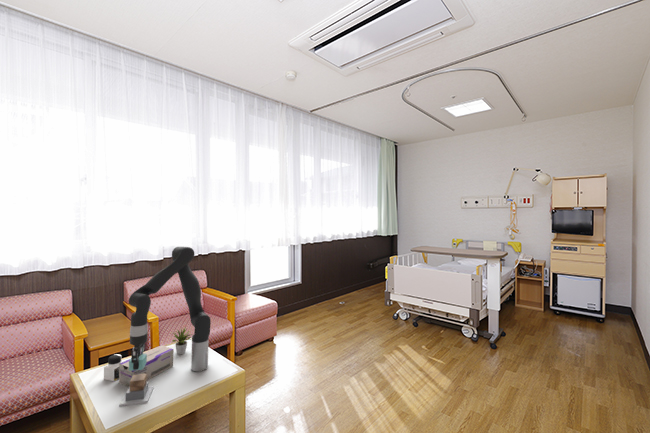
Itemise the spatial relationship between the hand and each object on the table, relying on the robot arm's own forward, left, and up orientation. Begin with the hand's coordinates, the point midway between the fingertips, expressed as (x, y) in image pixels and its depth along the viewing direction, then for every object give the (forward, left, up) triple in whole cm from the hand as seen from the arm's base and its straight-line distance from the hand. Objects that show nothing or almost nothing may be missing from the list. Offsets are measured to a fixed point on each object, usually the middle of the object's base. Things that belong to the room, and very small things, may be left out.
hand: (137, 365), depth 151 cm
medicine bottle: (+17, -22, -16) cm, 32 cm away
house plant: (-13, -43, -16) cm, 48 cm away
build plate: (0, 0, -16) cm, 16 cm away
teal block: (0, 0, -1) cm, 1 cm away
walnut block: (0, 0, -11) cm, 11 cm away
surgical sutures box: (+1, -22, -17) cm, 27 cm away
